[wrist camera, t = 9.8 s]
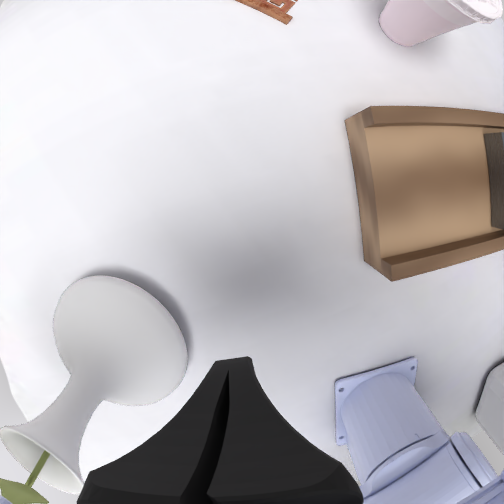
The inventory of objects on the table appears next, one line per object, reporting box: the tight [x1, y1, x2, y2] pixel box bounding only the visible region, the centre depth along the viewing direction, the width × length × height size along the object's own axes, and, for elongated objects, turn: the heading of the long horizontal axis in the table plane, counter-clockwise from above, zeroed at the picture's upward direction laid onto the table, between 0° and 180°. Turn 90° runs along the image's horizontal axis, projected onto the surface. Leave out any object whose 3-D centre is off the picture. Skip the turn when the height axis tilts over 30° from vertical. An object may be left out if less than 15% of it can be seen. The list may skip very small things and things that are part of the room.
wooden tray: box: [345, 106, 504, 281], centre depth 17 cm, size 10×20×4 cm, turn 101°
